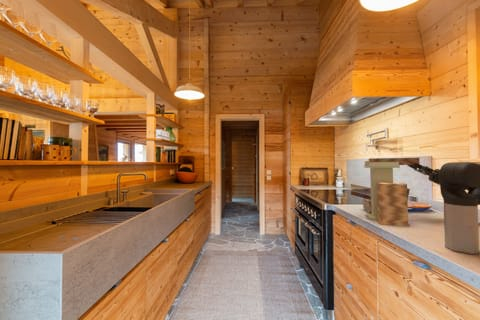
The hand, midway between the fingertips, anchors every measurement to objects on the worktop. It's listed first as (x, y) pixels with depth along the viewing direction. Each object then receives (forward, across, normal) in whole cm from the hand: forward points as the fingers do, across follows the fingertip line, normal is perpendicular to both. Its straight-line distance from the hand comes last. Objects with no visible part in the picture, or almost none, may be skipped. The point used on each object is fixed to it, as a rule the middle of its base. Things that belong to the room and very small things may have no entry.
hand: (411, 164), depth 124 cm
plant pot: (-15, +24, -29) cm, 41 cm away
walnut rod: (+8, -1, -5) cm, 9 cm away
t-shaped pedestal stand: (-4, -1, -36) cm, 36 cm away
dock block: (-6, -10, -34) cm, 36 cm away
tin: (0, +18, -38) cm, 42 cm away
